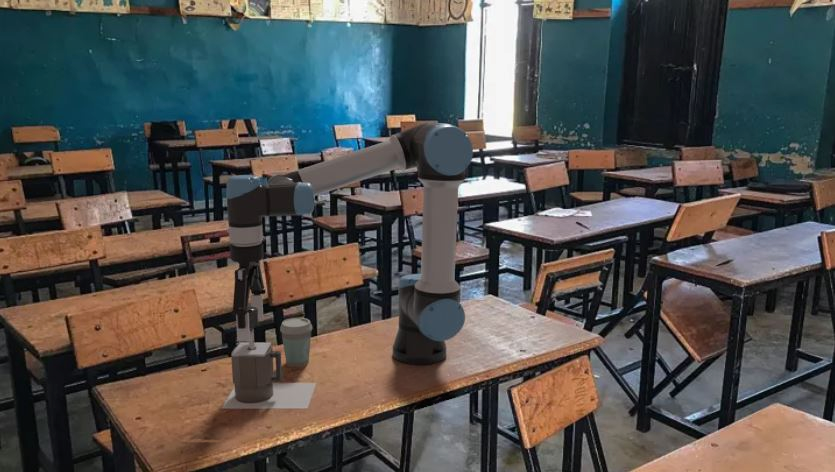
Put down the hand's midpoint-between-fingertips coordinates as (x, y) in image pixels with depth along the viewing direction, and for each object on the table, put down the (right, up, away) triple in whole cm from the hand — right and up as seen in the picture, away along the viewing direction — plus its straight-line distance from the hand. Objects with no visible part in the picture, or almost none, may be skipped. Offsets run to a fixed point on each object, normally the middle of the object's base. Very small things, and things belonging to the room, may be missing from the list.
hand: (250, 330), depth 161 cm
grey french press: (+1, -16, +3) cm, 17 cm away
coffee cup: (+7, -13, +23) cm, 27 cm away
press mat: (+4, -17, +4) cm, 17 cm away
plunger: (0, -11, +2) cm, 11 cm away
